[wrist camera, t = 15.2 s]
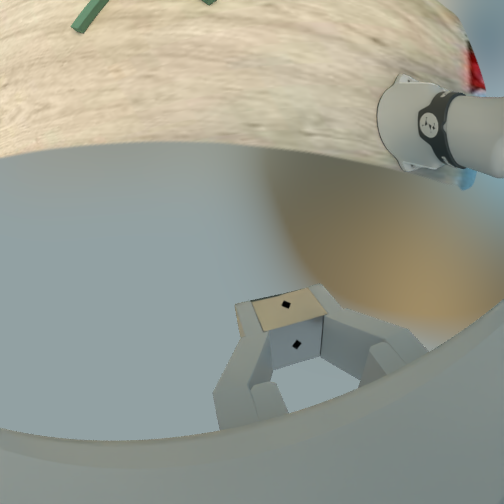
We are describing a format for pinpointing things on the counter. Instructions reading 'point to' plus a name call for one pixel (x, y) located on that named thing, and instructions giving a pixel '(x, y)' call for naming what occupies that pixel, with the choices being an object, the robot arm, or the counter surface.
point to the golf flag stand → (91, 12)
